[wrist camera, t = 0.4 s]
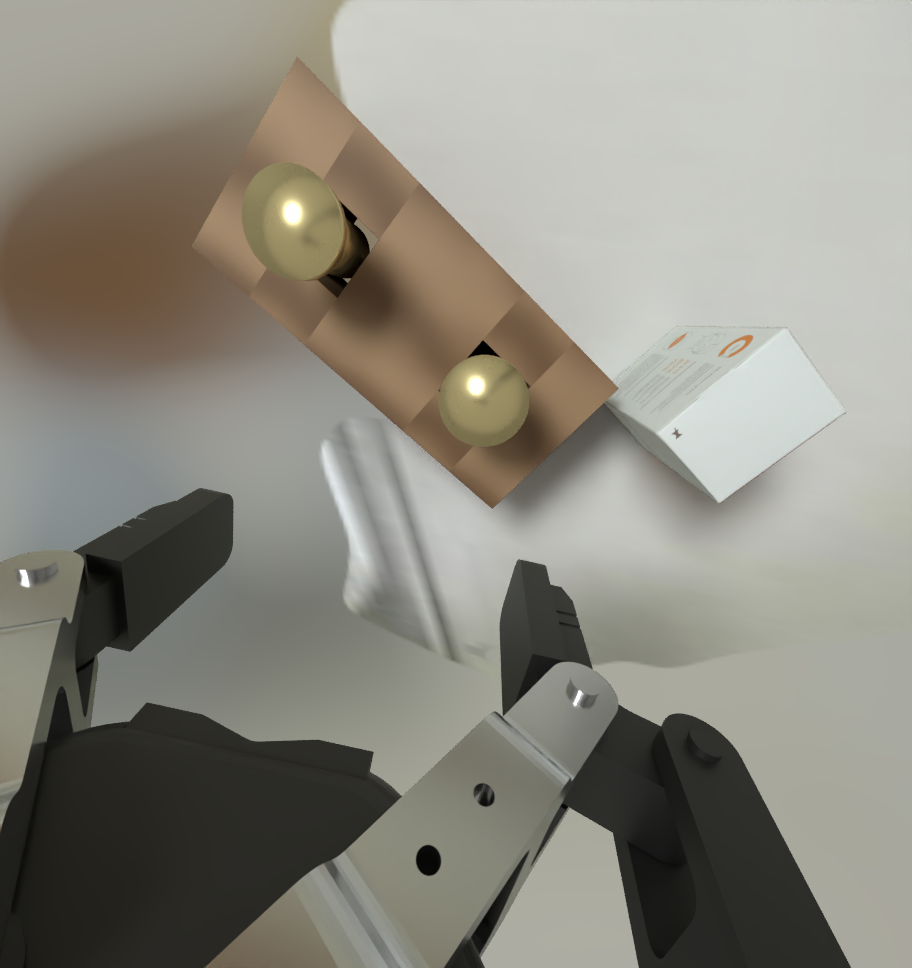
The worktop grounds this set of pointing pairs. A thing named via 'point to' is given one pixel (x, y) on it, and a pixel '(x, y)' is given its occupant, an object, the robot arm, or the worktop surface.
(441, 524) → the worktop surface
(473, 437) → the plunger
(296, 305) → the socket block
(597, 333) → the worktop surface
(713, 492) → the small box
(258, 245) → the plunger
